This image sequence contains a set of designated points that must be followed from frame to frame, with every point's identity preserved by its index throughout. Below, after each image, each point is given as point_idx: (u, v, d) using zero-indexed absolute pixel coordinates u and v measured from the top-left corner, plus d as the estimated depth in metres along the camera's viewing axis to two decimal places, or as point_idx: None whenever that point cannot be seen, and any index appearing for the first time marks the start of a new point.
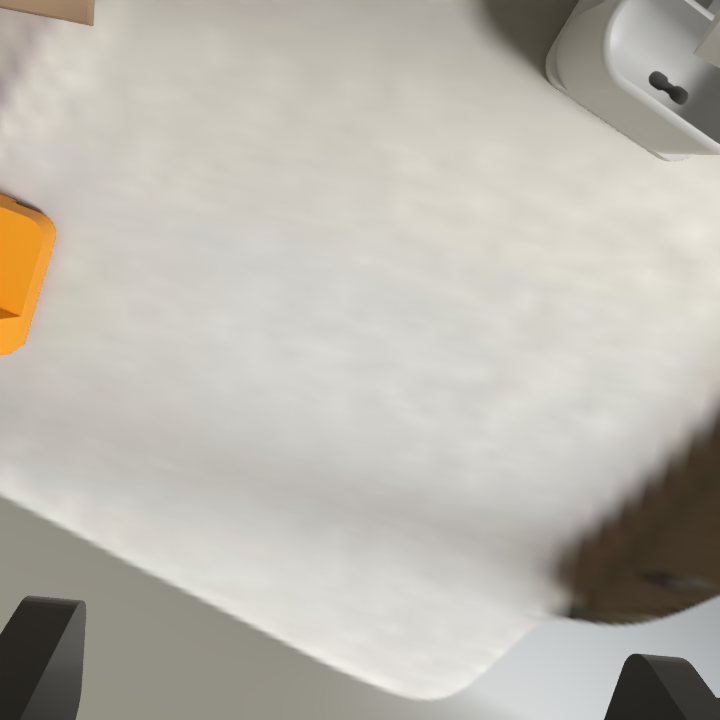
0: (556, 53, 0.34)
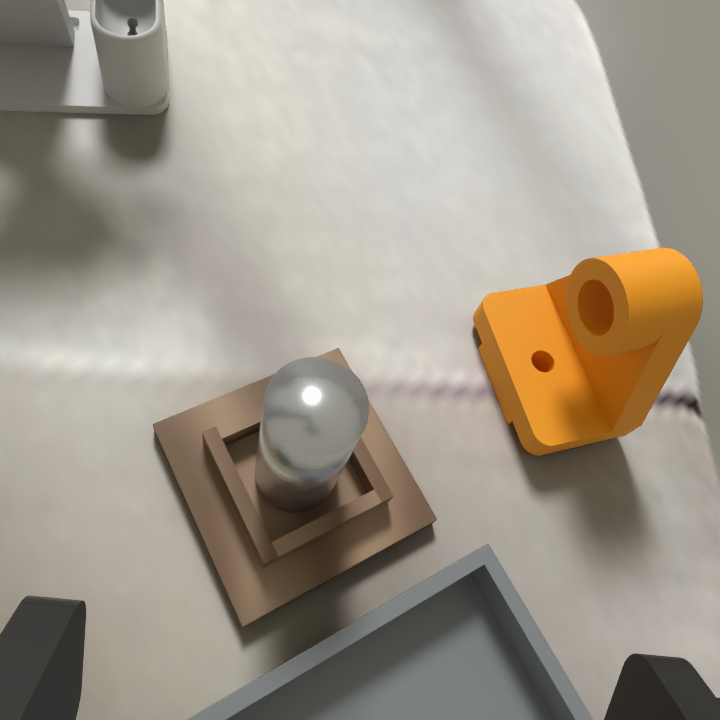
0: (151, 104, 0.48)
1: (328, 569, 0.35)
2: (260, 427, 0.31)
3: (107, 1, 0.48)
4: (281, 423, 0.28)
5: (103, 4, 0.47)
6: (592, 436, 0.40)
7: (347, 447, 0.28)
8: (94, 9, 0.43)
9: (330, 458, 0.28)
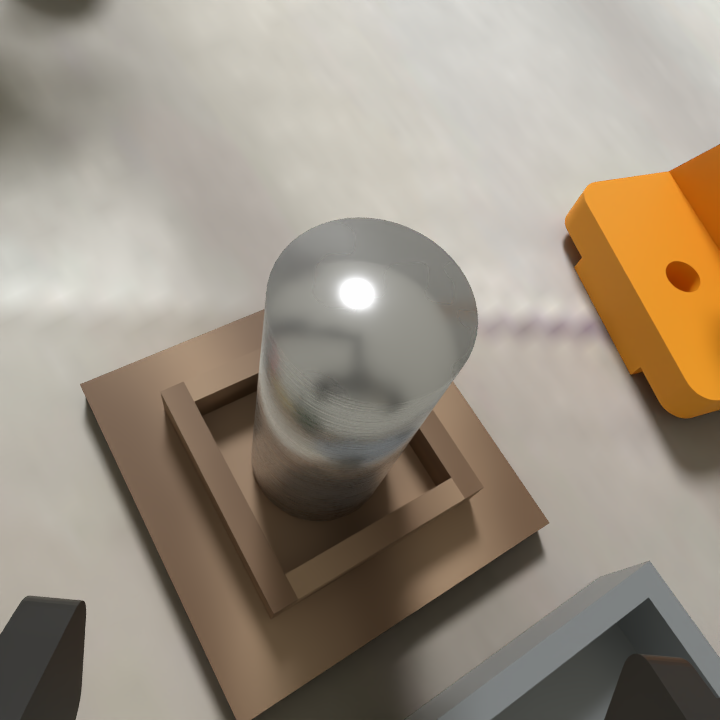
0: None
1: (382, 615, 0.21)
2: (260, 363, 0.16)
3: None
4: (304, 340, 0.13)
5: None
6: None
7: (443, 385, 0.14)
8: None
9: (407, 410, 0.14)
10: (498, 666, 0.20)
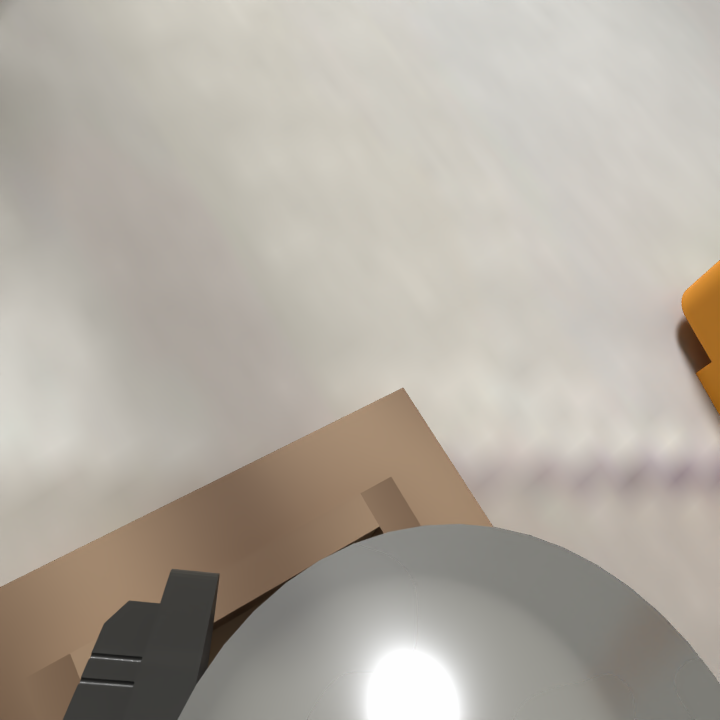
0: None
1: None
2: None
3: None
4: None
5: None
6: None
7: None
8: None
9: None
10: None
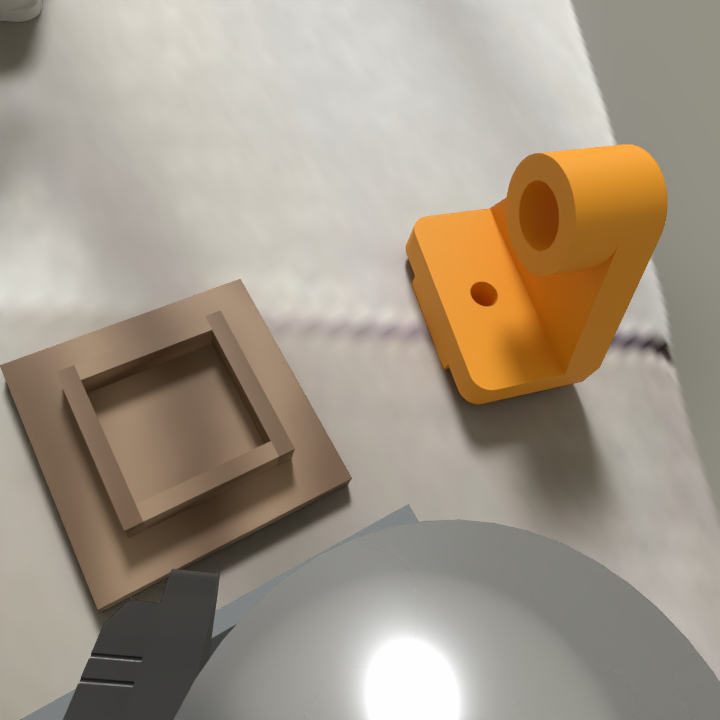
0: (16, 8, 0.40)
1: (212, 538, 0.29)
2: None
3: None
4: None
5: None
6: (541, 379, 0.34)
7: None
8: None
9: None
10: None
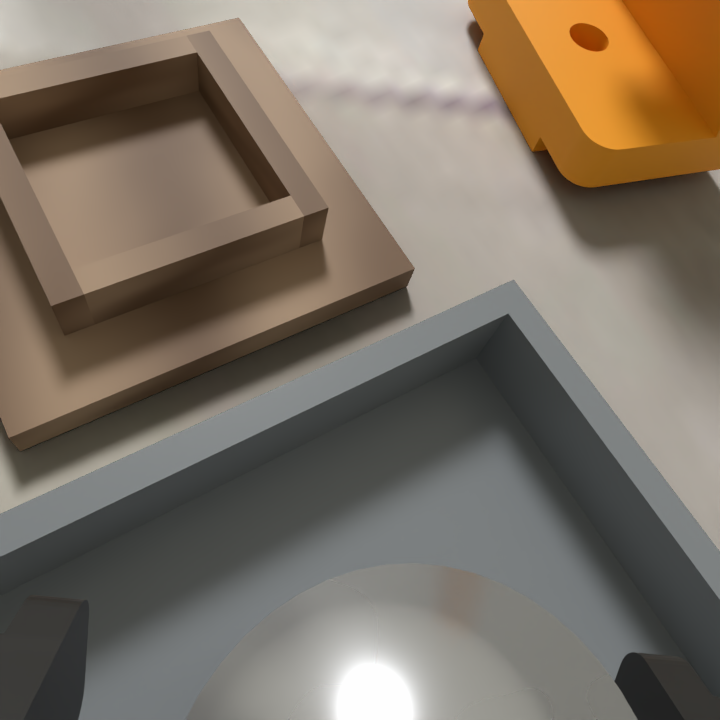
0: None
1: (201, 341, 0.18)
2: None
3: None
4: None
5: None
6: (683, 142, 0.23)
7: None
8: None
9: None
10: None
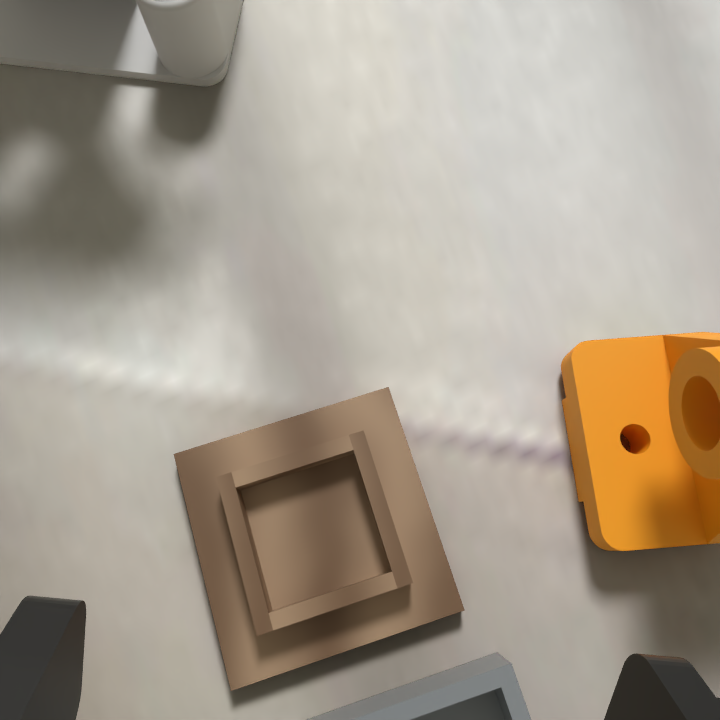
0: (203, 75, 0.42)
1: (330, 646, 0.32)
2: None
3: None
4: None
5: None
6: (679, 545, 0.32)
7: None
8: None
9: None
10: (389, 701, 0.30)
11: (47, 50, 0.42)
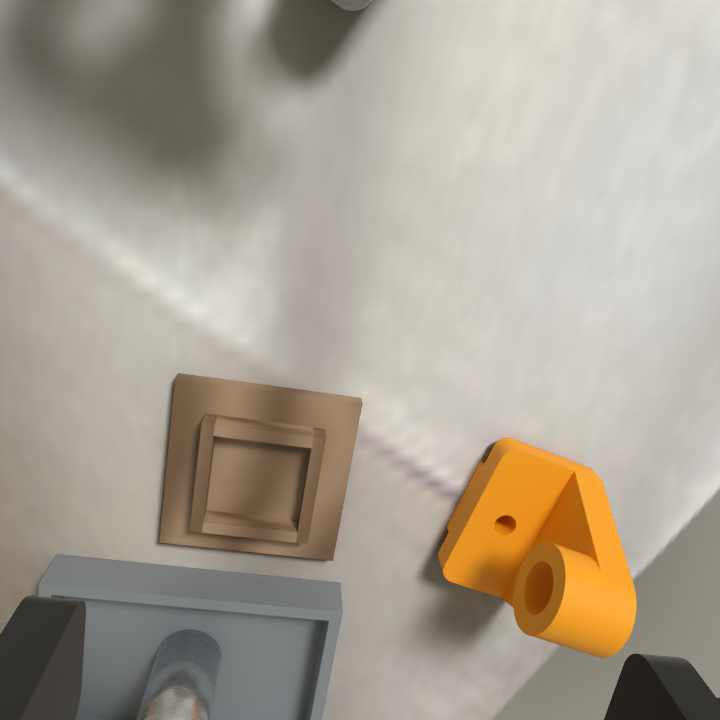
0: (343, 1, 0.36)
1: (236, 544, 0.45)
2: (140, 716, 0.41)
3: None
4: None
5: None
6: (485, 592, 0.46)
7: None
8: None
9: None
10: (258, 595, 0.45)
11: None
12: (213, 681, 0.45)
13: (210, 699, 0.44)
